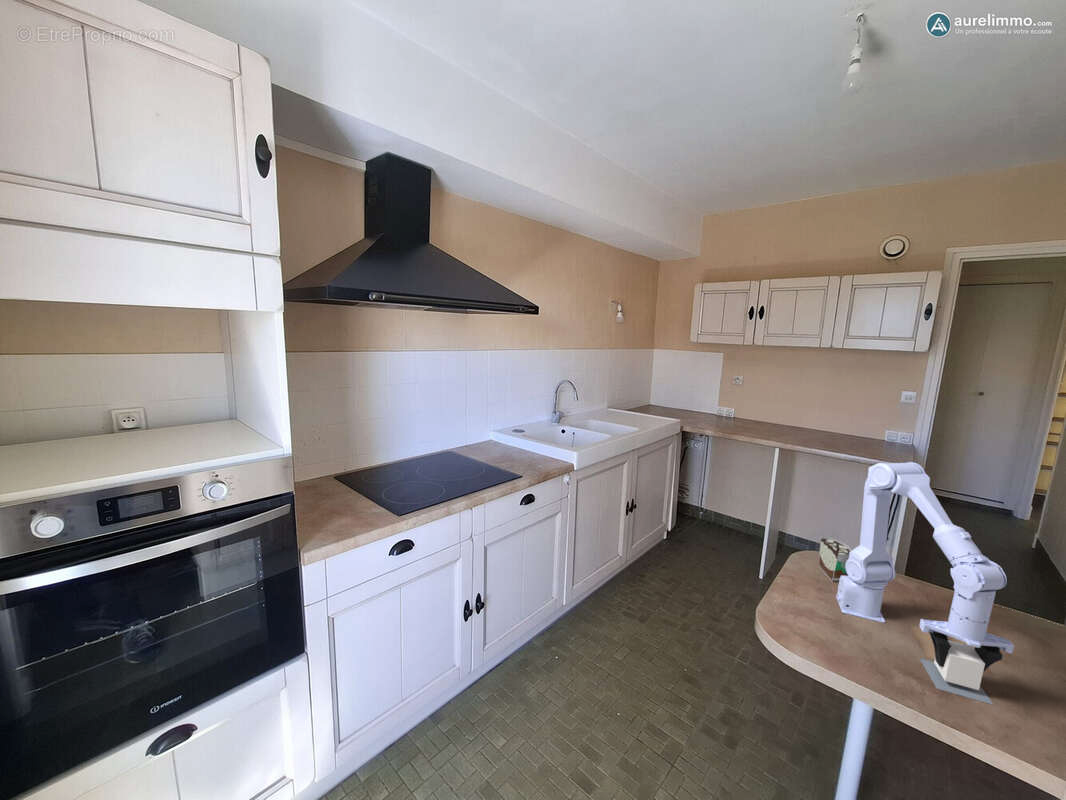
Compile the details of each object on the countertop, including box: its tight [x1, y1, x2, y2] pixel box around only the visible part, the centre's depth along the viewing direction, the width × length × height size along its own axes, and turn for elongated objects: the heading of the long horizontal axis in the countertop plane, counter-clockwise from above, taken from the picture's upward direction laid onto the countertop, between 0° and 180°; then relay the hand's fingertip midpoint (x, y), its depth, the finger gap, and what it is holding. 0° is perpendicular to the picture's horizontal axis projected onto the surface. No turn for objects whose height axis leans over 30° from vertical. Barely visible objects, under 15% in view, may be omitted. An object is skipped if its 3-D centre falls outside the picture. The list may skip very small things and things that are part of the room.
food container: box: [817, 535, 852, 584], centre depth 131 cm, size 12×6×10 cm, turn 168°
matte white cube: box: [933, 640, 985, 690], centre depth 92 cm, size 6×6×6 cm
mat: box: [919, 658, 994, 705], centre depth 93 cm, size 9×9×1 cm
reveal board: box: [906, 624, 995, 676], centre depth 102 cm, size 12×12×1 cm
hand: (957, 668), depth 92 cm, fingers closed on matte white cube, 5 cm apart
